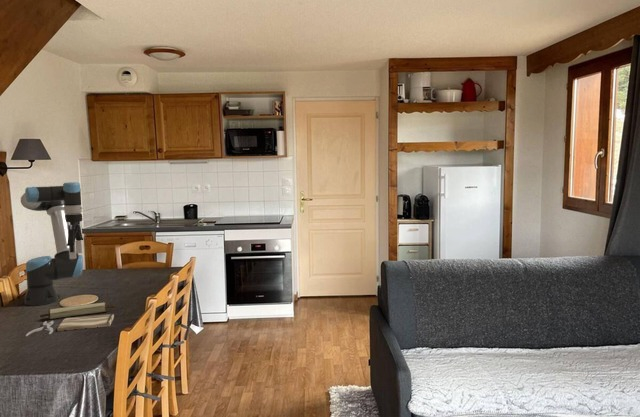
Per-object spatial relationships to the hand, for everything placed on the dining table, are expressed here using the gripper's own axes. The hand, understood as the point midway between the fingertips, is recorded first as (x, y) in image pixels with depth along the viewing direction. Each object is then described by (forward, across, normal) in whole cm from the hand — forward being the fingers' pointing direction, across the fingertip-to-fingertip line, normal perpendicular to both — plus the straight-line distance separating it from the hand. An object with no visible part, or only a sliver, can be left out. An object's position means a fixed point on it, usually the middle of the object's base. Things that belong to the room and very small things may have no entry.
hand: (76, 255), depth 232 cm
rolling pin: (+27, -12, -2) cm, 30 cm away
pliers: (+27, -28, +9) cm, 40 cm away
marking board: (+27, -26, -8) cm, 39 cm away
